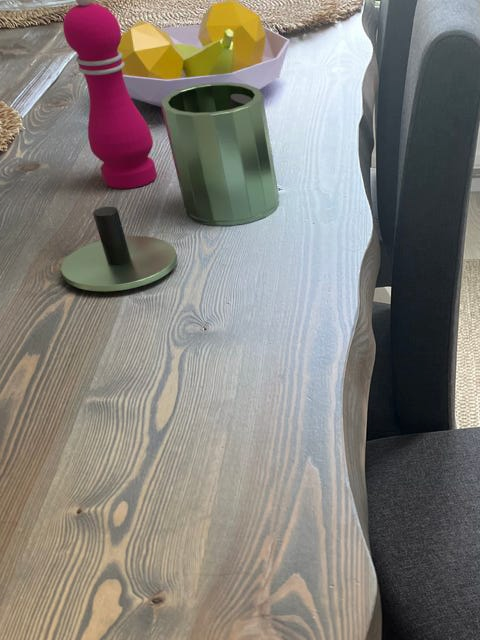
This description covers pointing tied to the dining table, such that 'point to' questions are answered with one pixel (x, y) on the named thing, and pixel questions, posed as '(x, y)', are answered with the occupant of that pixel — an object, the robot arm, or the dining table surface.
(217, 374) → the dining table surface
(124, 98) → the pepper mill
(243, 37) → the fruit bowl
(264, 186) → the canister
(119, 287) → the canister lid
